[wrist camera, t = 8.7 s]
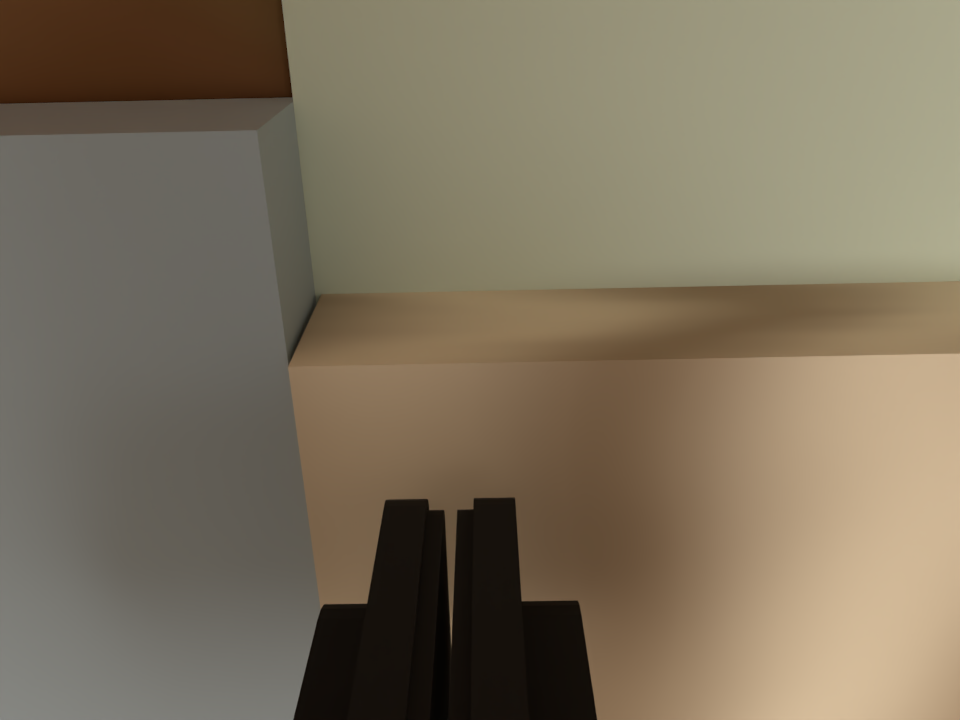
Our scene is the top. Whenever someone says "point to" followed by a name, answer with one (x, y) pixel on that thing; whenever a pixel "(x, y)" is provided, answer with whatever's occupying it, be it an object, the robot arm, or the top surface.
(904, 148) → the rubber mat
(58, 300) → the block
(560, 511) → the birch tile
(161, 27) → the top surface
